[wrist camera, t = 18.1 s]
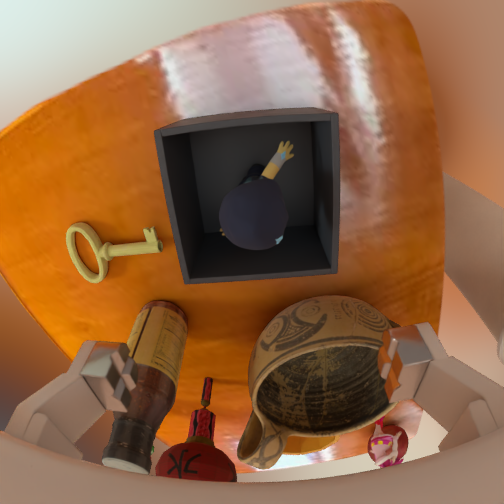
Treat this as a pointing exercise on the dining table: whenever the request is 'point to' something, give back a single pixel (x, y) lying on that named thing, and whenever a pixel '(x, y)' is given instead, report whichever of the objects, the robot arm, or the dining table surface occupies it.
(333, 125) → the bin
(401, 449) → the fruit
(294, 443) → the toy bowl
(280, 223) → the character figure
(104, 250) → the key
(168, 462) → the lantern
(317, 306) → the ceramic bowl
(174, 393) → the sauce bottle
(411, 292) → the dining table surface
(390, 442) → the figurine
